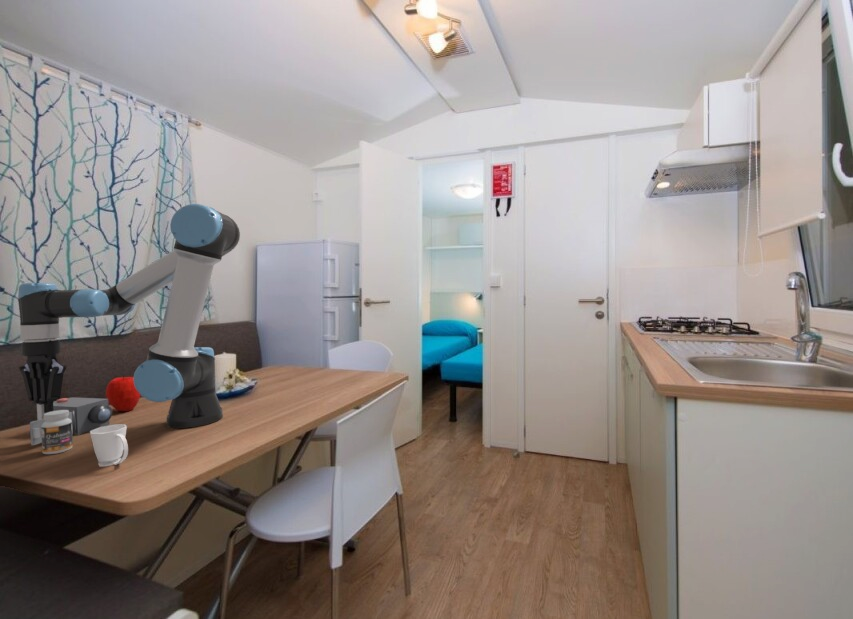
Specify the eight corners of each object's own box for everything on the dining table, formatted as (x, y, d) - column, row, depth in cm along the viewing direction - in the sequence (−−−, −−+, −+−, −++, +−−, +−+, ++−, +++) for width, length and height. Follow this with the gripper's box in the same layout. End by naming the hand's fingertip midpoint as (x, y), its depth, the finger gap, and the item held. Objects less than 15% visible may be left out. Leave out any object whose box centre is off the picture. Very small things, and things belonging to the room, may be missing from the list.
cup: (117, 454, 96) (116, 422, 96) (143, 460, 92) (141, 427, 92) (83, 466, 90) (81, 431, 90) (109, 473, 86) (107, 437, 86)
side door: (73, 432, 111) (72, 410, 111) (78, 432, 111) (77, 410, 111) (30, 445, 101) (29, 421, 101) (35, 446, 101) (34, 421, 101)
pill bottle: (46, 457, 96) (44, 416, 96) (39, 452, 99) (37, 413, 99) (76, 449, 101) (74, 410, 100) (68, 445, 104) (66, 407, 103)
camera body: (116, 425, 120) (115, 396, 119) (84, 435, 111) (83, 405, 110) (73, 422, 123) (71, 395, 123) (38, 432, 114) (37, 403, 114)
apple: (98, 414, 132) (96, 378, 131) (126, 406, 141) (125, 372, 141) (122, 415, 130) (120, 379, 129) (149, 407, 139) (148, 373, 139)
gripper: (75, 338, 108) (79, 423, 109) (38, 338, 111) (43, 421, 112) (44, 341, 101) (49, 432, 102) (5, 341, 103) (10, 430, 104)
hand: (46, 426), depth 107 cm, fingers closed
